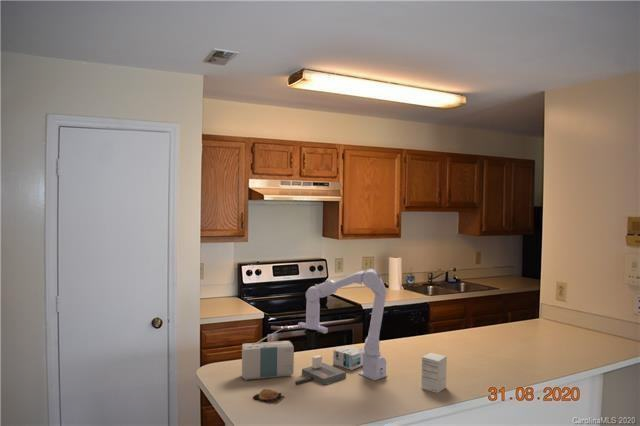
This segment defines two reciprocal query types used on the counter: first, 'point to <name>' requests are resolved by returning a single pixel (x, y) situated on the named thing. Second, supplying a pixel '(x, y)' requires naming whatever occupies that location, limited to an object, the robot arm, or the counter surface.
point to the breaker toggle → (317, 361)
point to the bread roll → (269, 396)
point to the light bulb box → (348, 357)
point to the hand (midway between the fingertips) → (312, 346)
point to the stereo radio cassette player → (267, 359)
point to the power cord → (303, 380)
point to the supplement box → (434, 372)
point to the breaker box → (324, 374)
